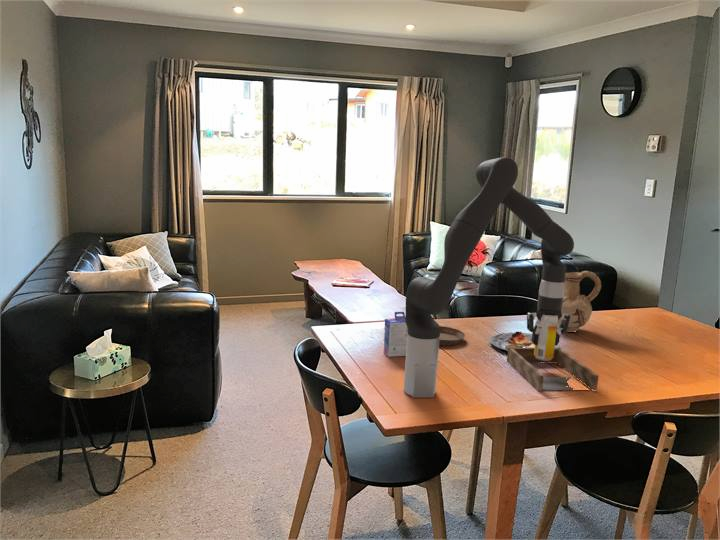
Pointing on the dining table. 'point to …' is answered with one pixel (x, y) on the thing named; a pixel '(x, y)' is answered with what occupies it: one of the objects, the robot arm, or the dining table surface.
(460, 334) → the plant saucer
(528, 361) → the bay
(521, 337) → the food plate
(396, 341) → the ink cartridge box
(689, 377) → the dining table surface
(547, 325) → the beer can
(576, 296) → the ceramic vessel
